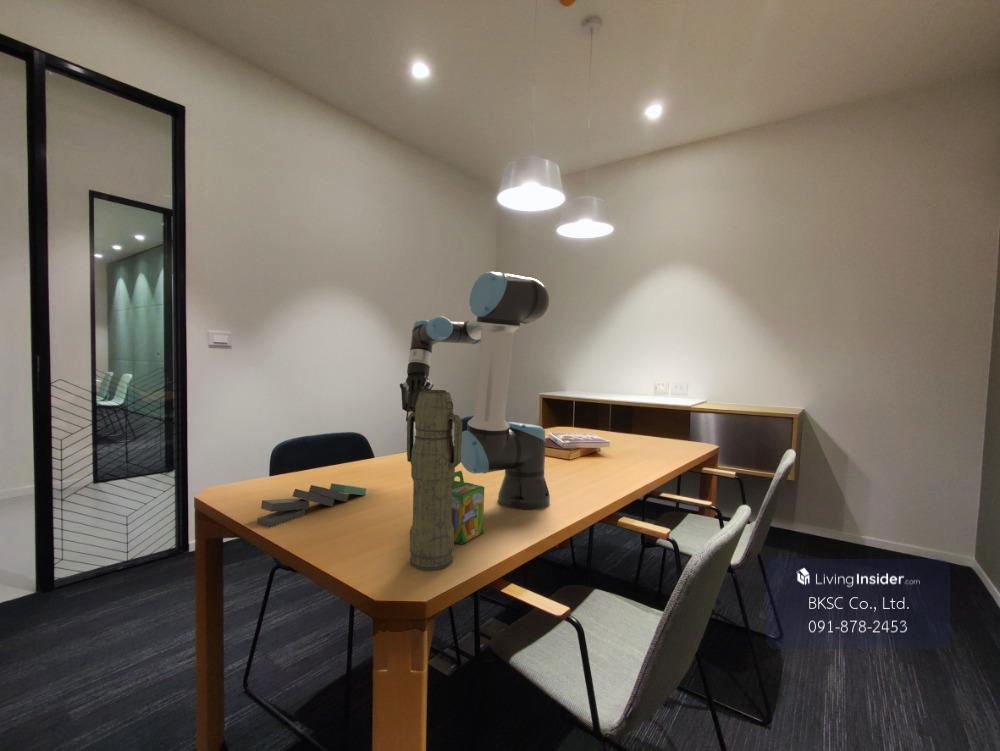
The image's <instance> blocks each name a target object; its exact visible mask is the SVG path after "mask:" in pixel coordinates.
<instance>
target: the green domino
mask: <svg viewBox="0 0 1000 751" xmlns="http://www.w3.org/2000/svg"><path fill="white" fill-rule="evenodd" d="M329 489H330V490H334V491H337V492H340V493H344V494H348V495H349V494H350V495H357V496H359V495H360V496H366V493H367V488H364V487H360V486H354V485H347V484H339V483H338V484H337V483H332V482H331V483H330V487H329Z"/></svg>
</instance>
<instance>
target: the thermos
mask: <svg viewBox="0 0 1000 751" xmlns="http://www.w3.org/2000/svg"><path fill="white" fill-rule="evenodd" d="M414 418H415V432H414ZM406 427H407V431H406V458H407V459H406V460H407V462H408V463H410V465H411V466H410V468H411V472H410V475H411V478H412V481H413V485H412V486H413V487H412V489H413V490H412V491H413V492H412V524H411V526H410V529H409V552H410V558H409V563H410V566H411V567H412V568H414V569H417V570H419V571H428V572H433V571H440V570H443V569H447V567H450V566H451V564H453V560H454V558H453V557H454V556H453V551H454V548H455V547H454V546H455V544H454V543H455V542H454V527H453V524H452V481H453V478H454V476H455V472H456V467H457V466H459V465H460V464H462V463H461V442H462V432H463V421H462V419H461V417H460V415H458V414H455V413H454V404H453V399H452V396H451V394H450V392H447V390H444V389H431V390H423V392H420V393H419V396H418V399H417V402H416V409H415V412H412V413H411V414H410V415H409V417H408V418H407V421H406ZM453 428H454V432H453V433H454V434H453V433H452V430H453ZM414 434H415V435H414ZM453 437H454V438H453ZM453 440H454V441H453Z"/></svg>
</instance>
